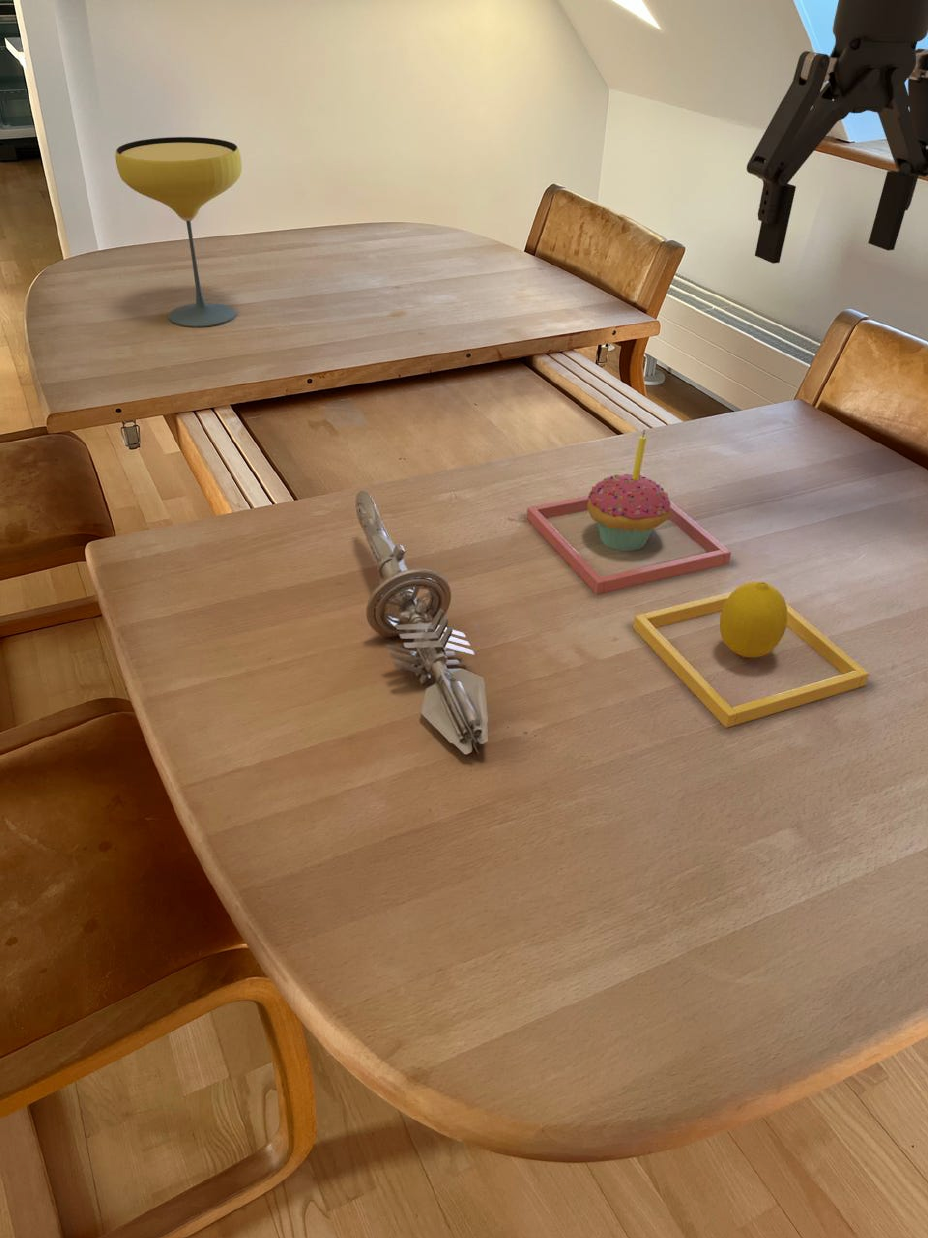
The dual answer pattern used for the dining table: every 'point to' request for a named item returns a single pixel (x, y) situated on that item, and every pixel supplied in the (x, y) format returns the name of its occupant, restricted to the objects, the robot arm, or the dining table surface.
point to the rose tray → (634, 577)
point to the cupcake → (628, 507)
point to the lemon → (753, 619)
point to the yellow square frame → (762, 707)
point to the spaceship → (424, 635)
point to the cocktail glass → (183, 195)
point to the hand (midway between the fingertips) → (825, 253)
